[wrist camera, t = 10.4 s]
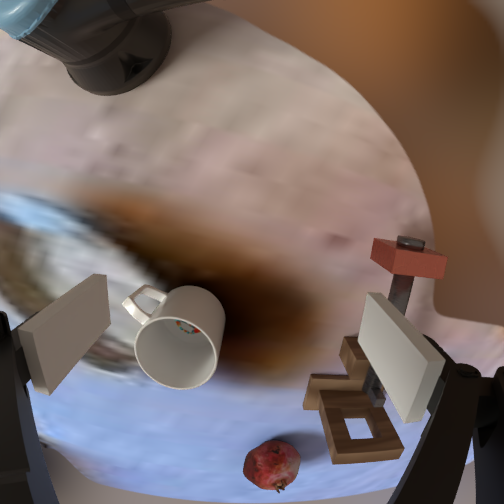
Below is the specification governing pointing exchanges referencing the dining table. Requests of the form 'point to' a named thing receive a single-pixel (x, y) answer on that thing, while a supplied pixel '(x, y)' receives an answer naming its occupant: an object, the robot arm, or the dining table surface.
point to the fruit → (272, 465)
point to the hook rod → (401, 285)
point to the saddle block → (354, 358)
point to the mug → (178, 335)
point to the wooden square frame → (351, 406)
